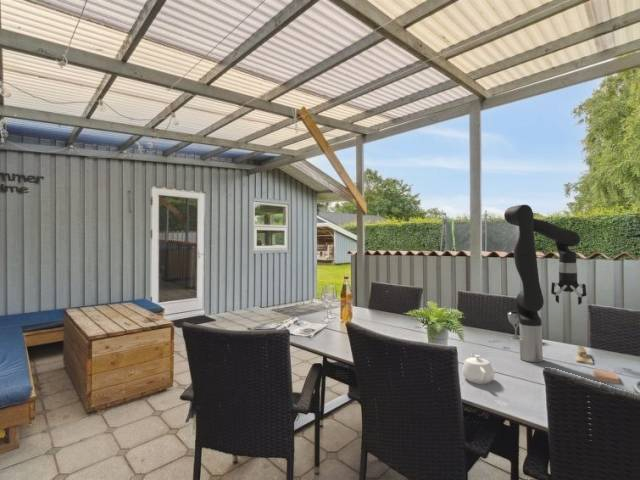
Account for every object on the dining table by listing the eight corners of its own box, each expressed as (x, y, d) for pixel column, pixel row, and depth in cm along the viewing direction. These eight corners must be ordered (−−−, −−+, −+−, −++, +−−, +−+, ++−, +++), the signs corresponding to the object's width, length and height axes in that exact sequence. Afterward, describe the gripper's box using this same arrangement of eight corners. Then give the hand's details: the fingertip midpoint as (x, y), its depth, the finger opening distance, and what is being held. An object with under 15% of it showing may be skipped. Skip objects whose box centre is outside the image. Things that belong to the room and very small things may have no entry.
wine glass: (525, 337, 198) (524, 311, 198) (522, 340, 193) (521, 314, 193) (510, 334, 204) (509, 310, 204) (506, 337, 198) (506, 312, 198)
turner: (576, 362, 157) (576, 354, 157) (573, 352, 171) (573, 345, 171) (593, 364, 153) (592, 356, 153) (588, 354, 167) (588, 346, 167)
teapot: (457, 369, 152) (456, 347, 152) (486, 370, 150) (485, 348, 150) (468, 388, 132) (467, 363, 132) (502, 390, 130) (501, 364, 130)
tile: (593, 374, 143) (596, 381, 137) (593, 369, 143) (596, 375, 137) (614, 377, 140) (618, 384, 133) (614, 372, 140) (618, 379, 133)
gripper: (551, 271, 170) (551, 303, 170) (586, 272, 162) (587, 306, 162) (550, 270, 176) (551, 301, 176) (584, 271, 168) (585, 303, 168)
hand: (568, 303), depth 169 cm, fingers open, 8 cm apart
